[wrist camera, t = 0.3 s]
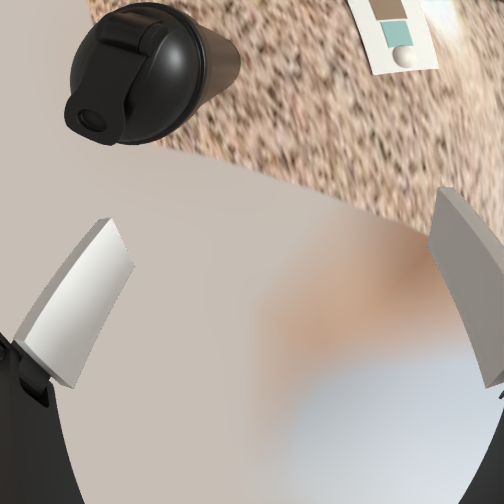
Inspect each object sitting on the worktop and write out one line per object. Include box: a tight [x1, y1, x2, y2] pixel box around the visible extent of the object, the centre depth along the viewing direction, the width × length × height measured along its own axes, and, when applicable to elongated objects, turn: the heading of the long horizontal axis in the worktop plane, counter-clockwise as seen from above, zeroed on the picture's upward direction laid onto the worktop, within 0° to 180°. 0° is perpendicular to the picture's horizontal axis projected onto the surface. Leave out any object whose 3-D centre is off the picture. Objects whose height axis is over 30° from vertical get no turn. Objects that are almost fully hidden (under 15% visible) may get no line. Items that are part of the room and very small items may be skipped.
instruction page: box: [347, 0, 439, 75], centre depth 23 cm, size 14×10×1 cm
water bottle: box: [64, 2, 241, 146], centre depth 21 cm, size 10×10×23 cm
